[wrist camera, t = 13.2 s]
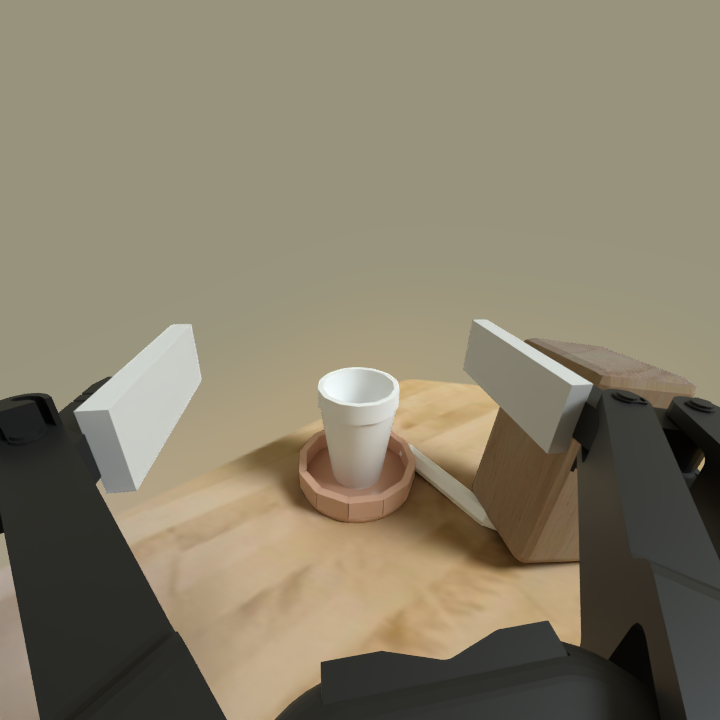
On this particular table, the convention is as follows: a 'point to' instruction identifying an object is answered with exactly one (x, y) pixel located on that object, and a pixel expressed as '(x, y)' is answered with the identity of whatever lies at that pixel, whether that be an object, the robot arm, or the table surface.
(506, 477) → the wooden block
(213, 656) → the table surface
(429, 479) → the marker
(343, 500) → the bowl
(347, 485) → the foam cup
